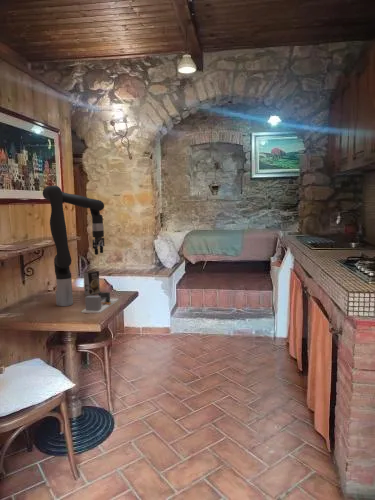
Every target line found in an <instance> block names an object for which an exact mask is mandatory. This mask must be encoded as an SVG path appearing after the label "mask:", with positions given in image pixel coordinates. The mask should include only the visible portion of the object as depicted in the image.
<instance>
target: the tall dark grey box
mask: <svg viewBox="0 0 375 500" xmlns="http://www.w3.org/2000/svg"><path fill="white" fill-rule="evenodd" d="M97 296H101V306H102V305H104V304H105V303H106V304H111V302H110V298H111V291H110V292H108V291H107V292H106V291H105V292H104V291H103V292H102V291H100V292H99V293H98V295H97Z"/></svg>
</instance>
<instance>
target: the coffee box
mask: <svg viewBox="0 0 375 500" xmlns="http://www.w3.org/2000/svg"><path fill="white" fill-rule="evenodd" d="M83 283H84V284H83V287H84V295H86V296H95V295H97V294H98V293H99V292H101V289H100V288H101V287H100V286H101V285H100V271H98V270H89V271H84V272H83Z"/></svg>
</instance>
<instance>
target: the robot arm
mask: <svg viewBox="0 0 375 500" xmlns="http://www.w3.org/2000/svg"><path fill="white" fill-rule="evenodd" d="M42 196H43V198H44V199H45V200H46V201H48V202H49V203H50V208H51V210H50V211H51V212H50V217H49V227H50V234H51V237H52V239H53V242H54V246H55V249H56V255H55V256H54V258H53V265H54V275H55V281H56V283H55V284H56V290H55V300H56V301H55V302H56V306H58V307H68V306H72V305H73V304H74V299H73V297H74V296H73V283H72V273H71V269H70V266H71V264H72V258H71V257H72V256H71V253H70V249H69V248H70V247H69V244H68V232H67V223H66V220H65V219H66V218H65V212H64V211H65V210H64V203H65V204H69V205H72V206H75V207H81V208H82V209H83V208H84V209H89V211H90V215H91V220H92V221H91V222H92V226H91V227H92V231H91V232H92V238H94V239H92V249H94V255H95V256H96V255H99V253H100V254H103V253H104V247H105V246H106V245H105V232H104V229H105V228H104V219H103V215H102V214H101V211H102V210H104V208H105V203H104V202H103V201H102V200H99V199H95V198H91V197H90V198H89V197H86V196H83V195H80V194H74V193H73V194H72V193H68V192H64V191H63V190H62V189H61V187H60V186H59V185H49V186H46V187H45V188H44V189H43V190H42Z"/></svg>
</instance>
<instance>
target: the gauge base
mask: <svg viewBox="0 0 375 500" xmlns="http://www.w3.org/2000/svg"><path fill="white" fill-rule="evenodd" d="M84 301H85V308H84V309H82V310H81V311H80V312H81V314H102V313H103V312H105V311H106V310H107V309H109V308H110V307H112V306H113V305H114V304H116V303H117V302H119V301H120V299H119V298H113V297H112V298H111V297H110V302H111V304H106V303H105V304H104V305H102V306H101V296H98V295H86V296H85V297H84Z"/></svg>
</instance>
